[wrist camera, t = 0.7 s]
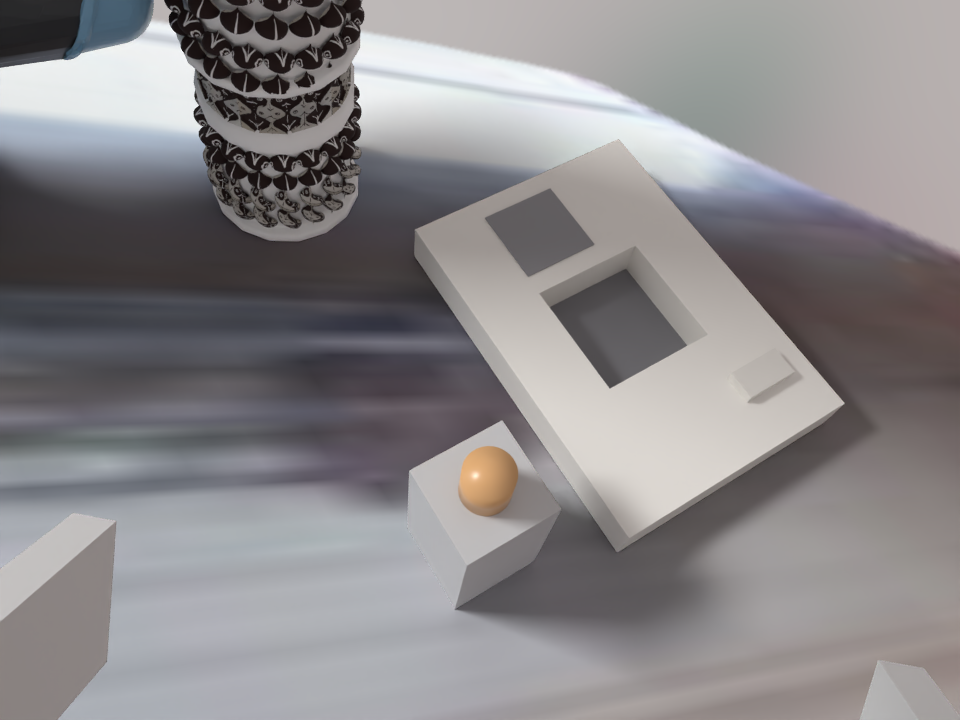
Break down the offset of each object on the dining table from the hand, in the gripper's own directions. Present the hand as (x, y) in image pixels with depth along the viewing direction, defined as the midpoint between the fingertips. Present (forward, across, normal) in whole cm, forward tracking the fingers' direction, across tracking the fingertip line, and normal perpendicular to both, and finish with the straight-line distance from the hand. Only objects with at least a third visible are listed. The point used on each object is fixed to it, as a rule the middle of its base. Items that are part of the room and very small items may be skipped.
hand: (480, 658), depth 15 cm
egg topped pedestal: (+26, 0, -10) cm, 28 cm away
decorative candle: (+38, -15, +4) cm, 41 cm away
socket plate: (+34, +5, -1) cm, 35 cm away
